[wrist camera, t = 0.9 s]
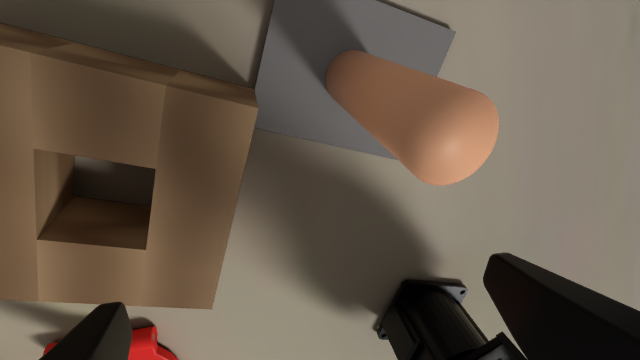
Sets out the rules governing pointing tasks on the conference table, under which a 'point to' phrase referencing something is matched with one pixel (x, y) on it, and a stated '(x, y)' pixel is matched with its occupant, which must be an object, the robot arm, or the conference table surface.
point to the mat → (320, 50)
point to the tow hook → (141, 346)
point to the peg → (416, 115)
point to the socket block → (122, 147)
